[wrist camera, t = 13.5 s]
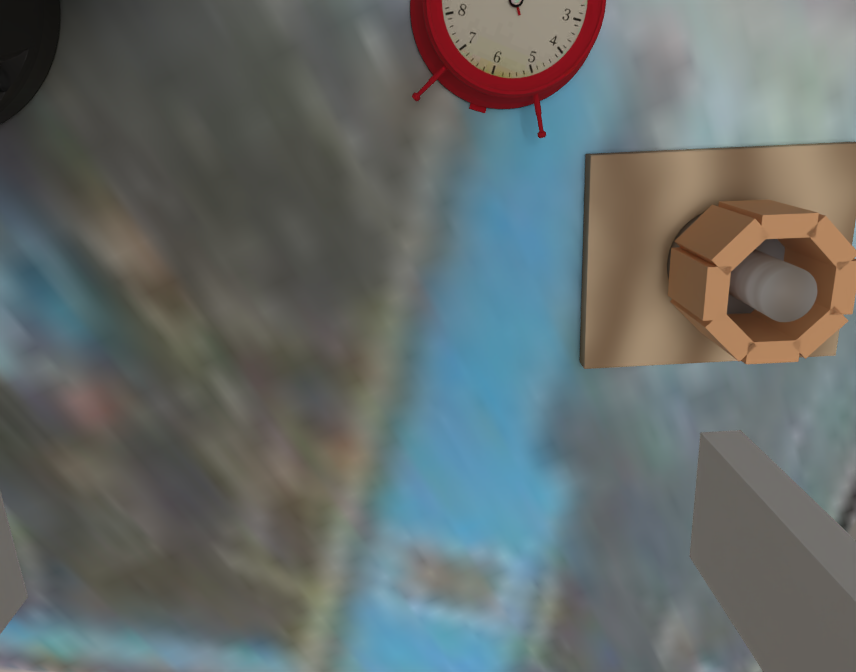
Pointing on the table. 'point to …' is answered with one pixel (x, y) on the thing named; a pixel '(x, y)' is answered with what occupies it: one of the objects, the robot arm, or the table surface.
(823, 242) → the ring
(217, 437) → the table surface
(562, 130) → the table surface
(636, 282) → the post board
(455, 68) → the alarm clock
